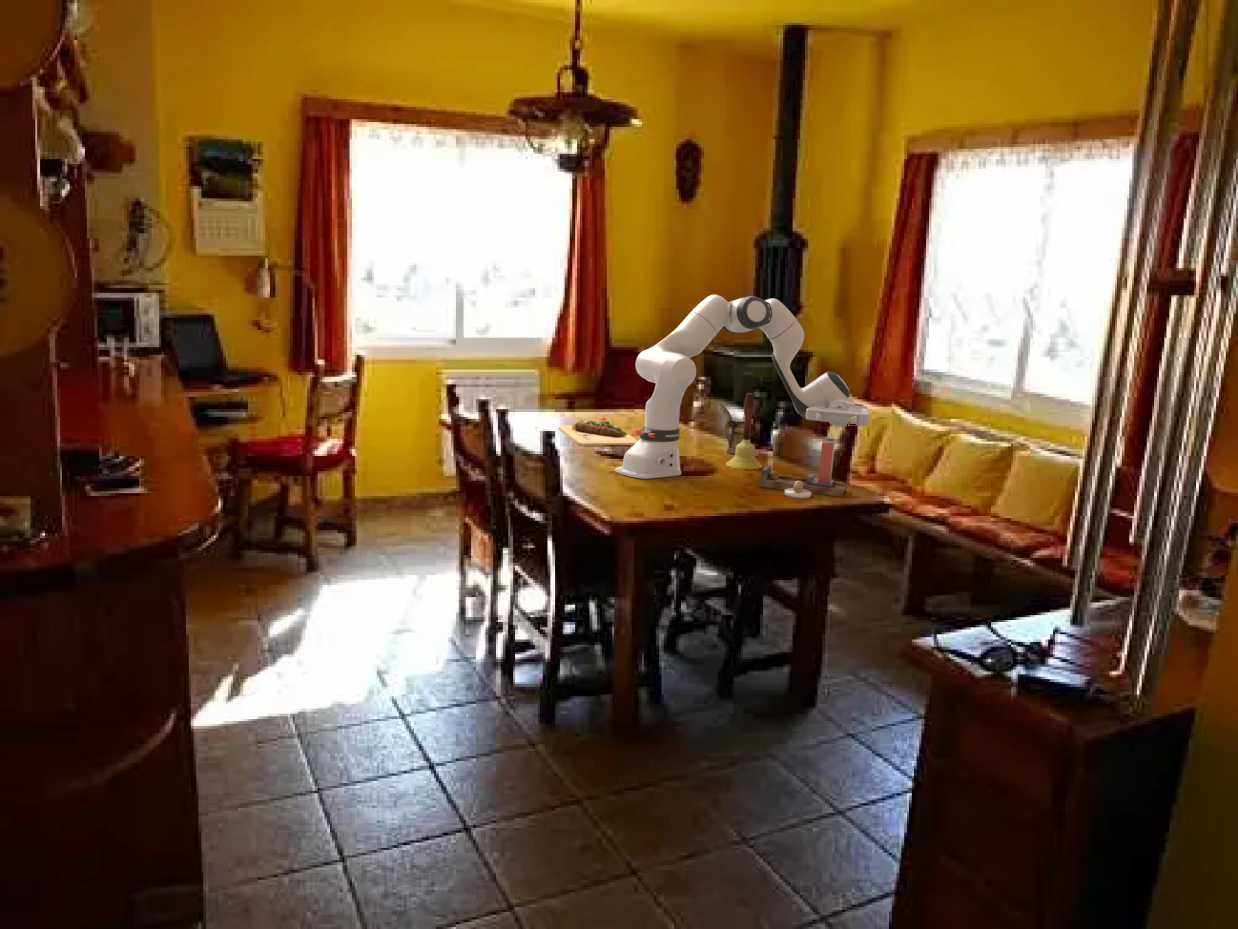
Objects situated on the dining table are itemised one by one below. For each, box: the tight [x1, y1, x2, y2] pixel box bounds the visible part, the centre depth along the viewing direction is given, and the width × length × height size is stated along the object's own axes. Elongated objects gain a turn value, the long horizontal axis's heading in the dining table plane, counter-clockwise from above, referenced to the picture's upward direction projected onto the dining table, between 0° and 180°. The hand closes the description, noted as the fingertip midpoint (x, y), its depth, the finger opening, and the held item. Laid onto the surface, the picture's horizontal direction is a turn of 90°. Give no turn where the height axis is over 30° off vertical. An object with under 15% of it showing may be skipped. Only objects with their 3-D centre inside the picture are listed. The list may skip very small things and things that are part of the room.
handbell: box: [725, 392, 763, 471], centre depth 328 cm, size 12×12×25 cm
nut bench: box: [759, 464, 846, 498], centre depth 301 cm, size 25×10×5 cm, turn 71°
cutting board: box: [558, 416, 639, 447], centre depth 367 cm, size 35×23×8 cm
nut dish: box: [784, 481, 812, 499], centre depth 292 cm, size 8×8×4 cm
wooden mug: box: [719, 404, 752, 455], centre depth 349 cm, size 9×14×18 cm, turn 108°
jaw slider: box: [806, 441, 836, 488], centre depth 299 cm, size 8×7×14 cm
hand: (835, 419), depth 307 cm, fingers open, 8 cm apart
